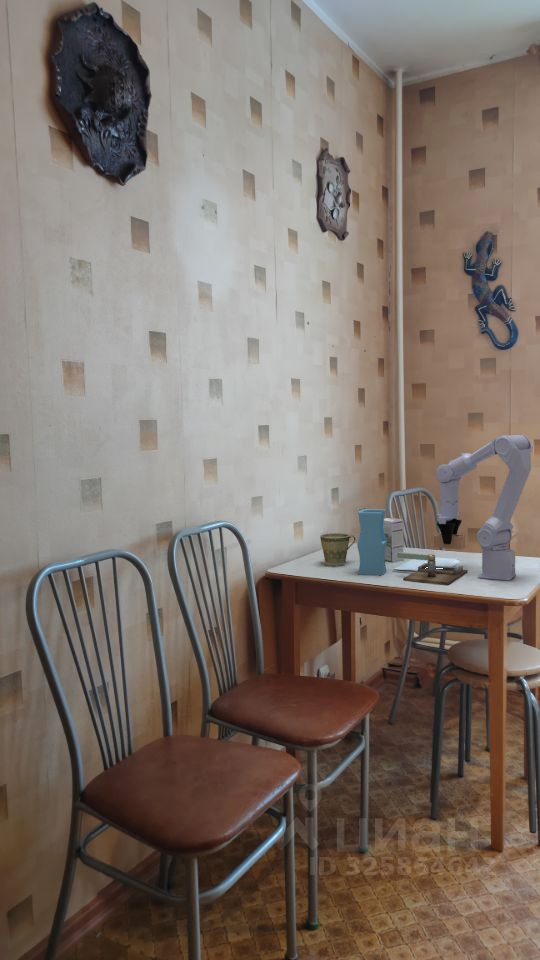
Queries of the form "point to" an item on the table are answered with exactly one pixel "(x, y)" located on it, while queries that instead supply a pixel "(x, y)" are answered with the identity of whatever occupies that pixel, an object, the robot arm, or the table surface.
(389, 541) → the syrup box
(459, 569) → the keeper board
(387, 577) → the table surface
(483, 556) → the robot arm
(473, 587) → the table surface
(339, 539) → the ceramic cup
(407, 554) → the keeper bar
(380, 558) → the vase
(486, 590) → the table surface
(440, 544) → the brown rectangular block
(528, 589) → the table surface
